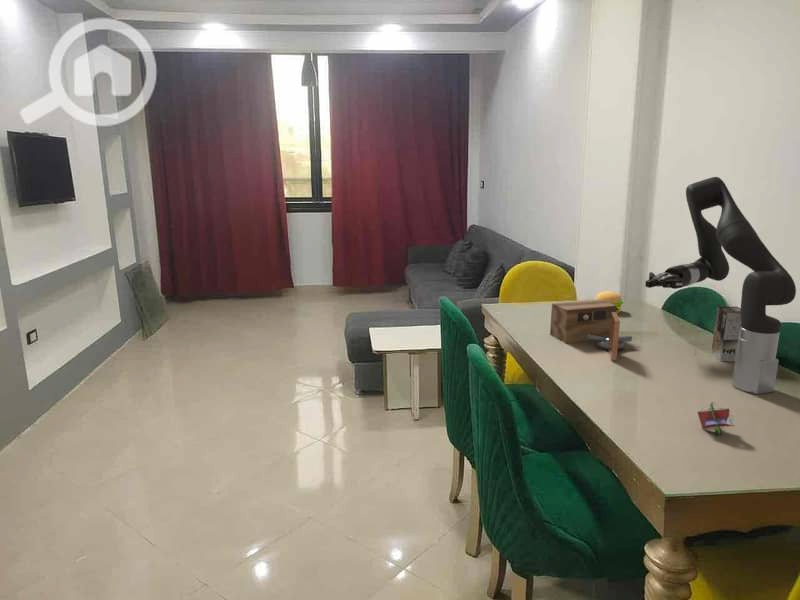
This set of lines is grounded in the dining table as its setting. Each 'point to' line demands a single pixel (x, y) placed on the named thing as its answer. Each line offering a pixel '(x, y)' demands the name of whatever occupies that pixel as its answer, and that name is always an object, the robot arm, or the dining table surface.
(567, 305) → the wooden box
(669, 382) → the dining table surface
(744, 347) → the robot arm
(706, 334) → the dining table surface
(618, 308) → the hamburger
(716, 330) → the coffee box
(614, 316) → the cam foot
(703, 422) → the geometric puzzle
